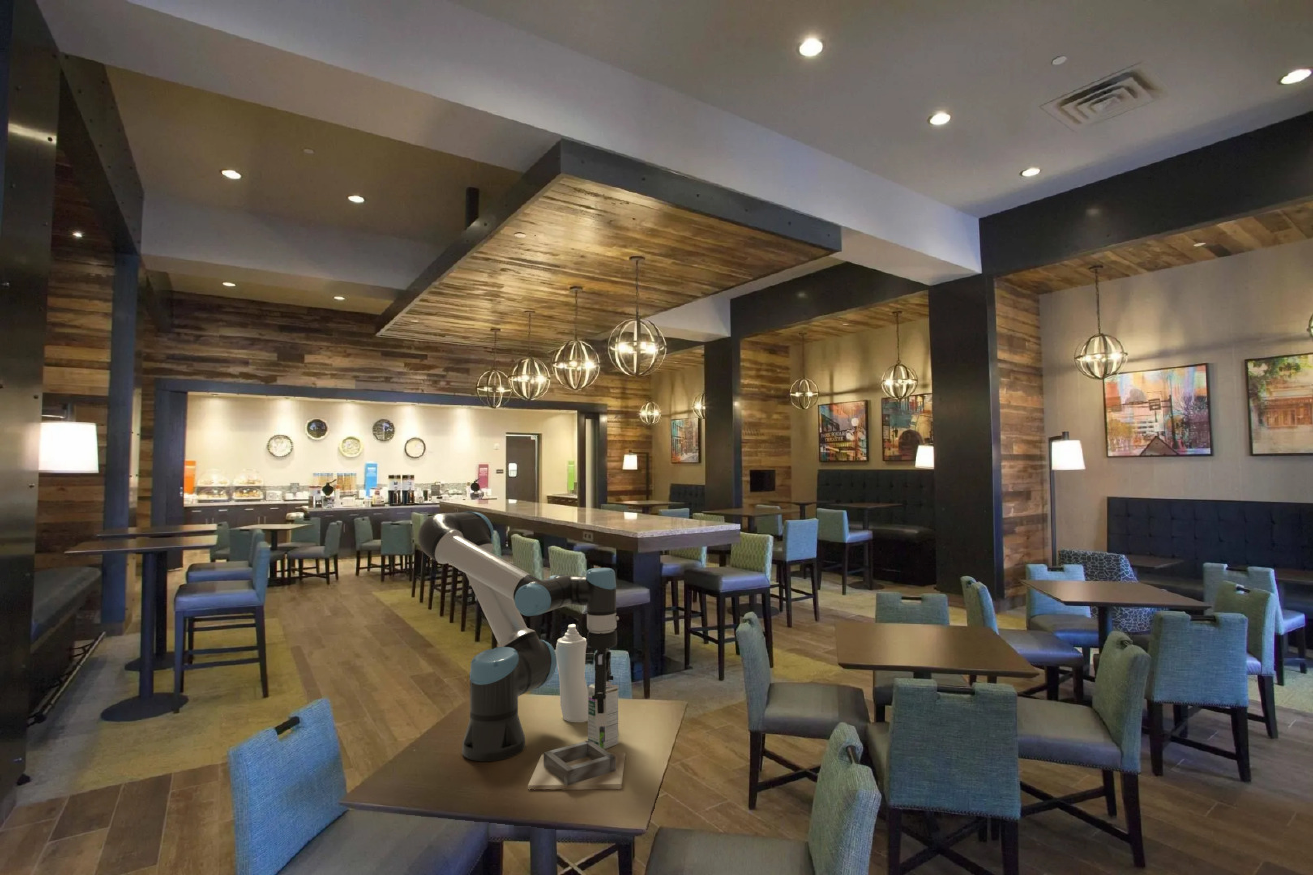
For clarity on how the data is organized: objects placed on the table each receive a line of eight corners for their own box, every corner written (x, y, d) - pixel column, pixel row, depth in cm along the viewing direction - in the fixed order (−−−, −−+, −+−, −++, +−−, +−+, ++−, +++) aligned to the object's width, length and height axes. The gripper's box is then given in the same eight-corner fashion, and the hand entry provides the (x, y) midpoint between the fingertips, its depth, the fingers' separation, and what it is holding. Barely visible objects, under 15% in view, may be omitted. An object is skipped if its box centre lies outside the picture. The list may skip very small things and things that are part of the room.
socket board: (527, 790, 136) (527, 771, 136) (542, 757, 152) (541, 740, 153) (621, 789, 136) (620, 770, 136) (625, 756, 152) (625, 739, 153)
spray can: (549, 721, 176) (549, 629, 178) (560, 708, 187) (559, 621, 189) (590, 722, 175) (589, 630, 177) (598, 709, 185) (598, 622, 187)
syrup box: (586, 744, 160) (586, 685, 161) (604, 737, 164) (603, 680, 165) (602, 750, 156) (601, 690, 157) (619, 743, 160) (618, 684, 161)
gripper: (613, 641, 150) (615, 734, 148) (619, 619, 175) (621, 699, 173) (581, 641, 150) (582, 735, 148) (592, 620, 175) (594, 700, 173)
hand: (603, 716), depth 160 cm, fingers open, 13 cm apart
